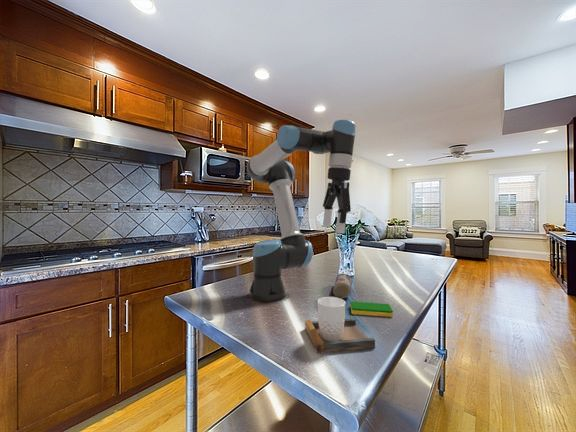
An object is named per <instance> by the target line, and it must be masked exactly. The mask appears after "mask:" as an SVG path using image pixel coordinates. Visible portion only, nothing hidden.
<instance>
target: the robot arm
mask: <svg viewBox="0 0 576 432" xmlns="http://www.w3.org/2000/svg"><path fill="white" fill-rule="evenodd" d="M355 138H356V123H355V122H354V121H352V120H349V119H337V120H334V122H333V125H332V127H331V130H326V131H321V130H315V129H309V128H305V127H299V126H295V125H286V124H284V125H282V126H280V127H279V129H278V131H277V134H276V139H275V140H274V141H273V142H271V144H270V145H268V146H267V147H266V148H265V149H264V150H262V151H261V152H260V153H259V154H256V155H253V156H251V158H249V160H248V162H247V165H246V171H247V174H248V176H249V177H250V178H251V180H253V181H256V182H257V183H261V184H262V183H263V184H268V188H269V190H271V191H272V192H273V198H274V204H275V208H276V213H277V219H278V223H279V227H280V228H279V229H280V233H281V237H280V238H279V239H277V238H273V239H265V240H261V241H258V242H256V243H255V244H254V246H253V253H252V257H253V279H252V282H251V285H250V289H249V298H250V299H251V298H252V300H253V299H254V301H256V302H258V301H259V302H274V301H279V300H282V299H283V298H285V297H286V288H285V285H284V283H283V279H282V270H286V269H294V268H302V267H306V266H308V265H309V264H310V263H311V261H312V258H313V256H314V255H313V254H314V253H313V251H314V250H313V245H312V242H310V241H309V240H307V239H306V237H305V235H304V234H303V233H302V232H301V230H300V227H299V226H300V225H299V222H298V217H297V213H296V208H295V204H294V200H293V195H292V191H291V186H293V183H294V181H295V175H296V174H295V173H296V172H295V168H294V166H293V164H292V163H291V162H290V161H287V160H285V159H286V158H288V157H289V156H290V155H292V154H293V153H295V152H297V151H305V152H312V153H313V154H315V155H323V154H329V158H328V166H329V168H328V169H327V170H328V171H327V179H329V180H331V182H328V183H327V188H326V192H325V196H324V198H323V199H324V200H323V203H322V207H323V208H324V212H323V213H324V214H323V221H322V222H323V223H322V227H323V228H331V225H332V216H333V215H332V214H333V210H334V207H333V206H334V203H335V201H336V200H337V207H338V210H337V218H336V227H335V233H336V234H346V233H345V232H346V222H347V215H348V213H350V212H351V209H352V208H351V207H352V206H351V197H350V182H349V181H350V179H351V174H352V173H351V169H350V168H352V163H353V161H354V160H353V154H354V144H355Z"/></svg>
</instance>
